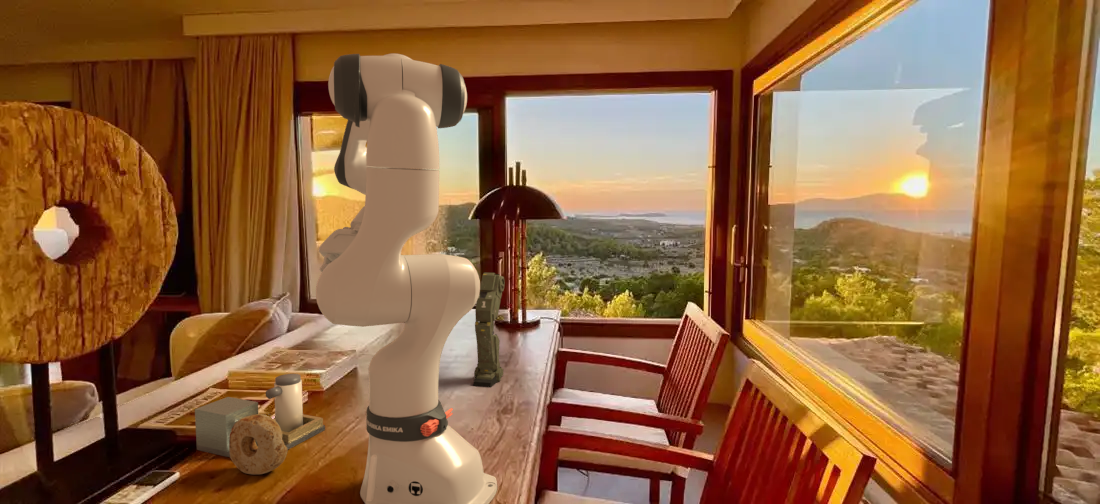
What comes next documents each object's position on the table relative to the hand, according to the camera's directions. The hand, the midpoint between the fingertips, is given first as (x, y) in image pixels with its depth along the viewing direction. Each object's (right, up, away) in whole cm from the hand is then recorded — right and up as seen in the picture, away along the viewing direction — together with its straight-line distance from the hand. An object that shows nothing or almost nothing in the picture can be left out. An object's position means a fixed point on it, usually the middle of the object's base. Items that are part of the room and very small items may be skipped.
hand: (337, 273), depth 121 cm
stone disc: (-4, -34, -26) cm, 43 cm away
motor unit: (-9, -33, -13) cm, 36 cm away
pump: (-6, -32, -12) cm, 34 cm away
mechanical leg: (+31, -30, +25) cm, 50 cm away
